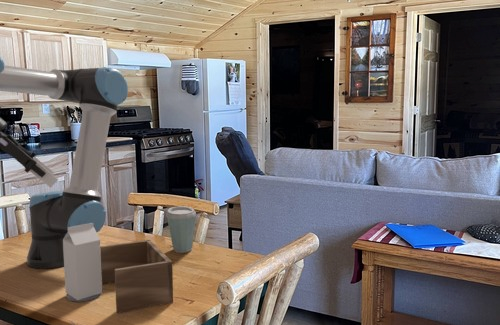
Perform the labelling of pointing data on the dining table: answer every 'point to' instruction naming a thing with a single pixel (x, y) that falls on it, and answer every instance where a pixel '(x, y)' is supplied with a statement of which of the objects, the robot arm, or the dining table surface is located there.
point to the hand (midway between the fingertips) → (52, 179)
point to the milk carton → (82, 261)
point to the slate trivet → (82, 299)
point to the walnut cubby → (137, 274)
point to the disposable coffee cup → (181, 227)
